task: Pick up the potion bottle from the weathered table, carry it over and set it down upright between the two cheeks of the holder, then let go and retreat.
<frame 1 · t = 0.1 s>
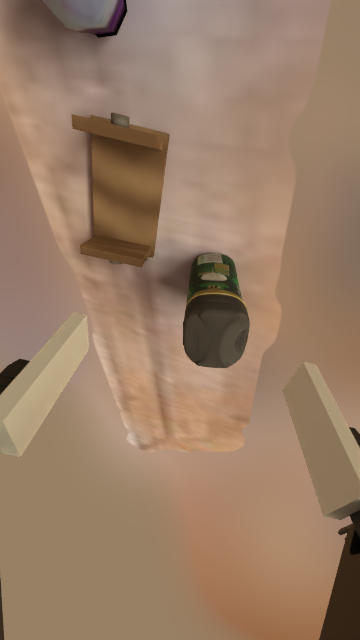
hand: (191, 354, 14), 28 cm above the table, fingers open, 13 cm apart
coffee jar: (212, 277, 41), on the table
holder: (128, 195, 35), on the table
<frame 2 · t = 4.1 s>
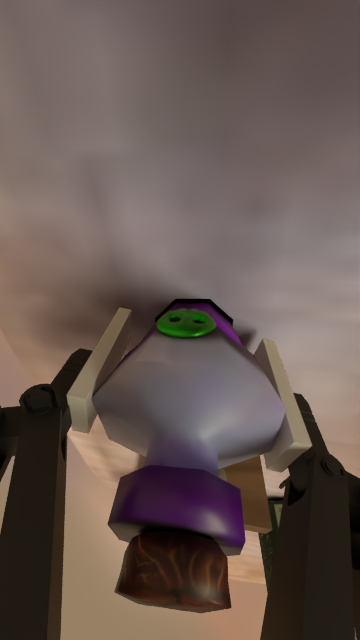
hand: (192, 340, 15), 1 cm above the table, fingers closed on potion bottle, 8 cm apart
coffee jar: (285, 507, 33), on the table
holder: (192, 457, 26), on the table
potion bottle: (193, 330, 16), on the table, touching gripper
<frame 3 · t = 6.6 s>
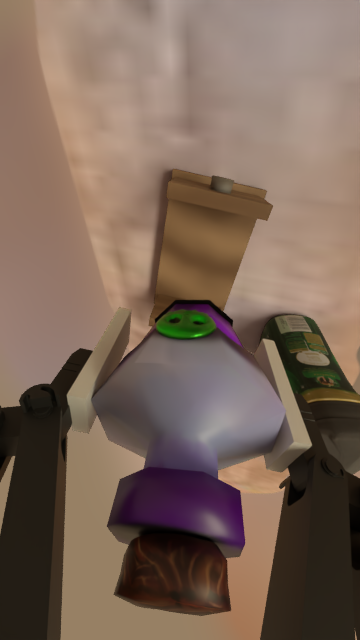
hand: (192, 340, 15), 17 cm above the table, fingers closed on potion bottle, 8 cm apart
coffee jar: (284, 336, 36), on the table
holder: (201, 253, 29), on the table
potion bottle: (193, 330, 16), point 16 cm above the table, touching gripper
when the fingers open (3 cm above the table, at t = 9.6 s): potion bottle drops 1 cm, resting on holder.
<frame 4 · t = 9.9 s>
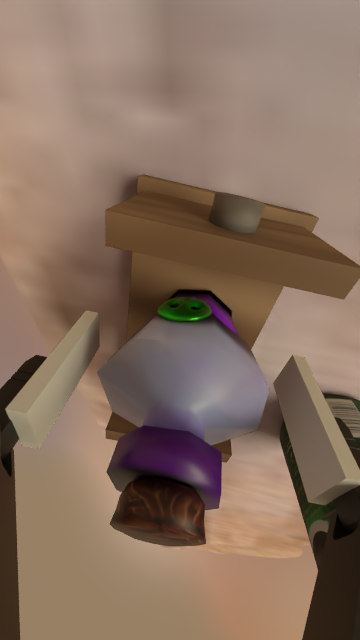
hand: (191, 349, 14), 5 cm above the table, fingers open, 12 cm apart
coffee jar: (319, 417, 24), on the table
holder: (195, 311, 18), on the table
potion bottle: (195, 319, 17), point 1 cm above the table, touching holder
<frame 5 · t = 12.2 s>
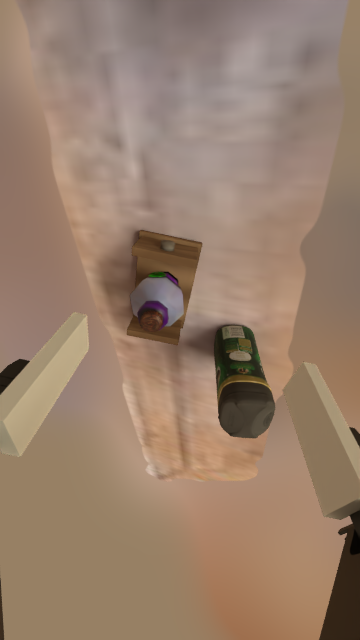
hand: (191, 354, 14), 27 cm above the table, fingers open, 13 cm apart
coffee jar: (233, 341, 47), on the table
holder: (164, 282, 41), on the table
potion bottle: (164, 285, 40), point 1 cm above the table, touching holder
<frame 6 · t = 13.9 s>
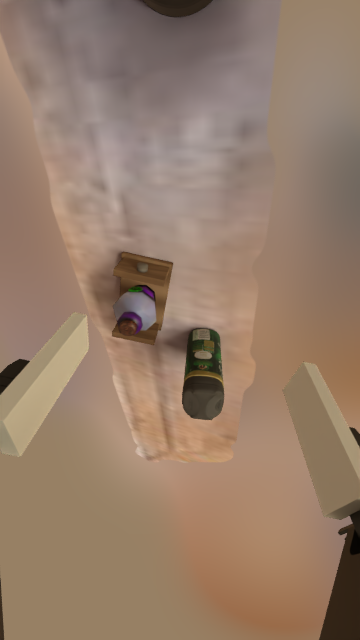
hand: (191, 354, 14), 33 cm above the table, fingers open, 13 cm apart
coffee jar: (204, 341, 56), on the table
holder: (144, 293, 50), on the table
potion bottle: (143, 295, 49), point 1 cm above the table, touching holder
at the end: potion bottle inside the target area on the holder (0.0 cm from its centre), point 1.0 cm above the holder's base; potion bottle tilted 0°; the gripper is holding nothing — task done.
